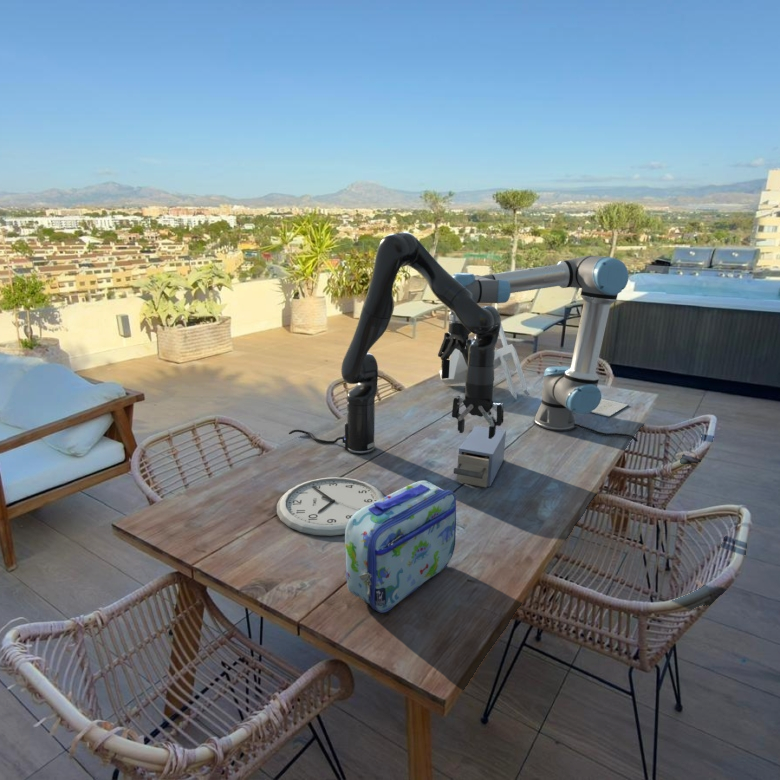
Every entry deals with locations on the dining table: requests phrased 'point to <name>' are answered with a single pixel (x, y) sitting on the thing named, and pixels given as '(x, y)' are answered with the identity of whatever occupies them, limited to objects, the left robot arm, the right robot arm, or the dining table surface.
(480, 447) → the cabinet
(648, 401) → the dining table surface
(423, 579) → the lunch box
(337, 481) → the wall clock
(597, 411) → the invitation card
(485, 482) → the drawer
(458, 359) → the white plastic object
